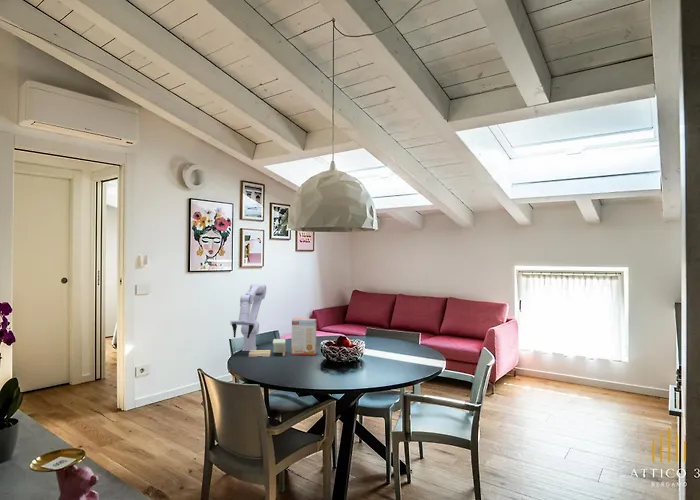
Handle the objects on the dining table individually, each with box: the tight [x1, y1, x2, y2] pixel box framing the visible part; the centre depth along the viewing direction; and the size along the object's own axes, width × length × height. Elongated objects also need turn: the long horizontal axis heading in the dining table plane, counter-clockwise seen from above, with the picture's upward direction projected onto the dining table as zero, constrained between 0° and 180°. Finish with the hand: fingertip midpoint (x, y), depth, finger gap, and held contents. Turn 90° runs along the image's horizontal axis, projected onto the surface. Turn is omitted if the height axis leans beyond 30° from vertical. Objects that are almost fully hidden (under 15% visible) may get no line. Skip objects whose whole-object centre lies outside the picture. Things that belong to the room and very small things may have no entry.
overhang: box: [272, 338, 287, 357], centre depth 257 cm, size 12×7×8 cm, turn 7°
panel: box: [248, 349, 272, 358], centre depth 254 cm, size 8×12×2 cm, turn 97°
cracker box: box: [290, 317, 317, 356], centre depth 259 cm, size 14×6×21 cm, turn 84°
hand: (241, 337), depth 250 cm, fingers open, 7 cm apart
